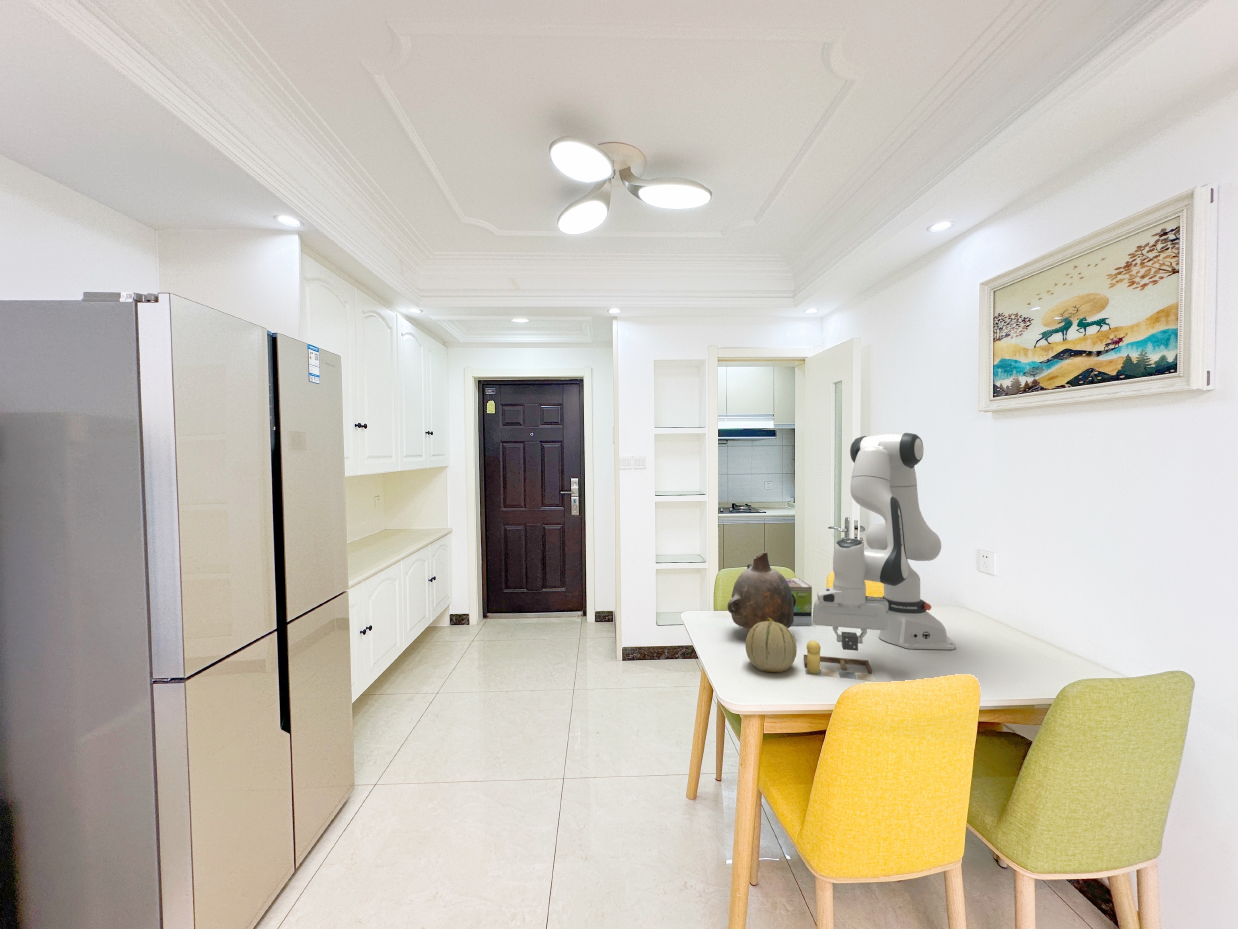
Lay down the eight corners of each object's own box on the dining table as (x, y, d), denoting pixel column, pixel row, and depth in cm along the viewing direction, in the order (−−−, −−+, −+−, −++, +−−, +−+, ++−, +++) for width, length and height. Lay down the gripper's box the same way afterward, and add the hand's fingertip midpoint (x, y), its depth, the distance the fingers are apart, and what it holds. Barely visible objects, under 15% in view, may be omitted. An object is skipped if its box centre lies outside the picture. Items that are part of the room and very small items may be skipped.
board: (868, 668, 159) (868, 660, 159) (875, 685, 147) (874, 676, 147) (803, 662, 164) (803, 654, 164) (805, 678, 152) (805, 669, 152)
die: (856, 646, 159) (856, 632, 159) (858, 651, 155) (858, 636, 155) (841, 644, 160) (841, 631, 160) (842, 649, 156) (842, 635, 156)
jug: (753, 621, 205) (753, 543, 204) (807, 634, 190) (806, 549, 189) (716, 637, 188) (715, 551, 187) (771, 652, 173) (770, 559, 172)
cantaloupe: (760, 684, 149) (760, 630, 149) (736, 664, 163) (736, 615, 163) (807, 678, 152) (807, 625, 152) (780, 659, 167) (780, 611, 166)
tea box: (812, 626, 199) (812, 586, 199) (785, 626, 199) (785, 586, 199) (800, 614, 214) (799, 577, 214) (774, 614, 214) (774, 577, 214)
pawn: (820, 669, 155) (820, 639, 155) (820, 675, 152) (821, 644, 151) (806, 668, 157) (806, 638, 156) (806, 673, 153) (806, 642, 153)
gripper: (886, 594, 157) (886, 641, 157) (812, 590, 163) (812, 635, 163) (890, 600, 151) (890, 649, 151) (813, 595, 157) (813, 642, 157)
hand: (849, 642), depth 157 cm, fingers closed on die, 4 cm apart
